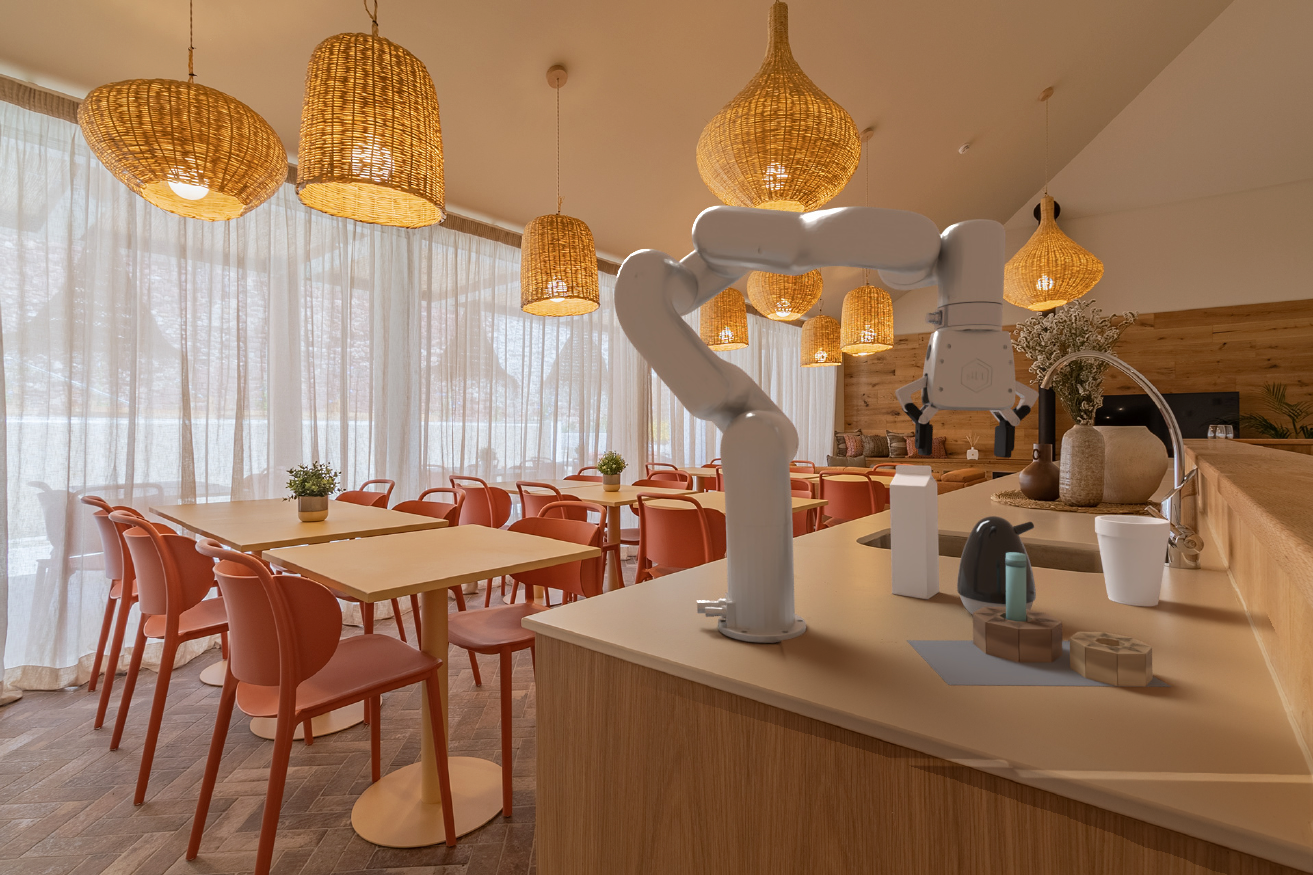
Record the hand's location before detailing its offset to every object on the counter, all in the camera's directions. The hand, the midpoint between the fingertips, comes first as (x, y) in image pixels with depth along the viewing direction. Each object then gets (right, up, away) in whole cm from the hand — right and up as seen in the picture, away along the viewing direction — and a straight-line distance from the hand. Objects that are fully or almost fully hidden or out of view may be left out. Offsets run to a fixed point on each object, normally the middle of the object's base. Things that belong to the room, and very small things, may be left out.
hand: (963, 455), depth 78 cm
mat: (+5, -25, -5) cm, 26 cm away
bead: (+6, -24, -2) cm, 25 cm away
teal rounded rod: (+6, -24, -2) cm, 25 cm away
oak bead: (+12, -24, -10) cm, 29 cm away
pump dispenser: (+11, -25, +12) cm, 30 cm away
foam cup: (+37, -24, +19) cm, 48 cm away
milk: (+5, -25, +27) cm, 37 cm away
